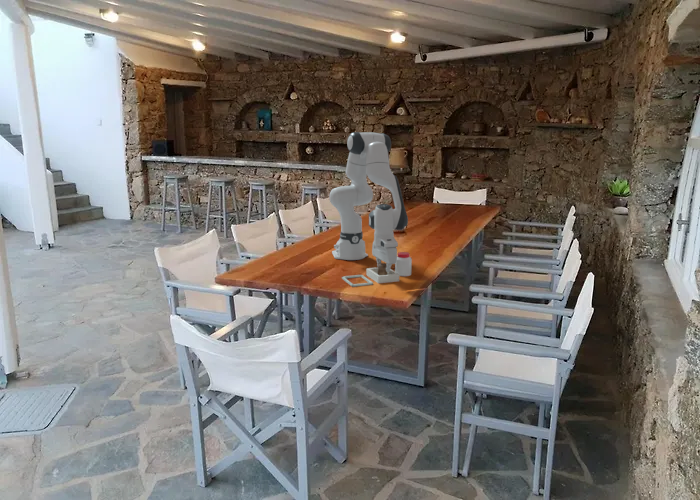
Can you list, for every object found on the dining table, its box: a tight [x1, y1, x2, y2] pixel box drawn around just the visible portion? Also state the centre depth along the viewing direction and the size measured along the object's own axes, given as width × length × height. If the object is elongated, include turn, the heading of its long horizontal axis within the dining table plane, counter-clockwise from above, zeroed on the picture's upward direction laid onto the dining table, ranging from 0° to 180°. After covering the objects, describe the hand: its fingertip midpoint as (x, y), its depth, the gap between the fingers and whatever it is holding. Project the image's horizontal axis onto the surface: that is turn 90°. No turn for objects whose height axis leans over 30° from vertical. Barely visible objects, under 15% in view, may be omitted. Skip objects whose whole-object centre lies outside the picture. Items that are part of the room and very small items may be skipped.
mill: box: [377, 262, 387, 275], centre depth 248 cm, size 4×4×6 cm
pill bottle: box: [394, 251, 413, 277], centre depth 254 cm, size 8×8×11 cm
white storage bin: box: [365, 266, 400, 284], centre depth 248 cm, size 14×10×4 cm
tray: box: [341, 274, 374, 288], centre depth 244 cm, size 14×10×2 cm
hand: (383, 269), depth 247 cm, fingers open, 8 cm apart
